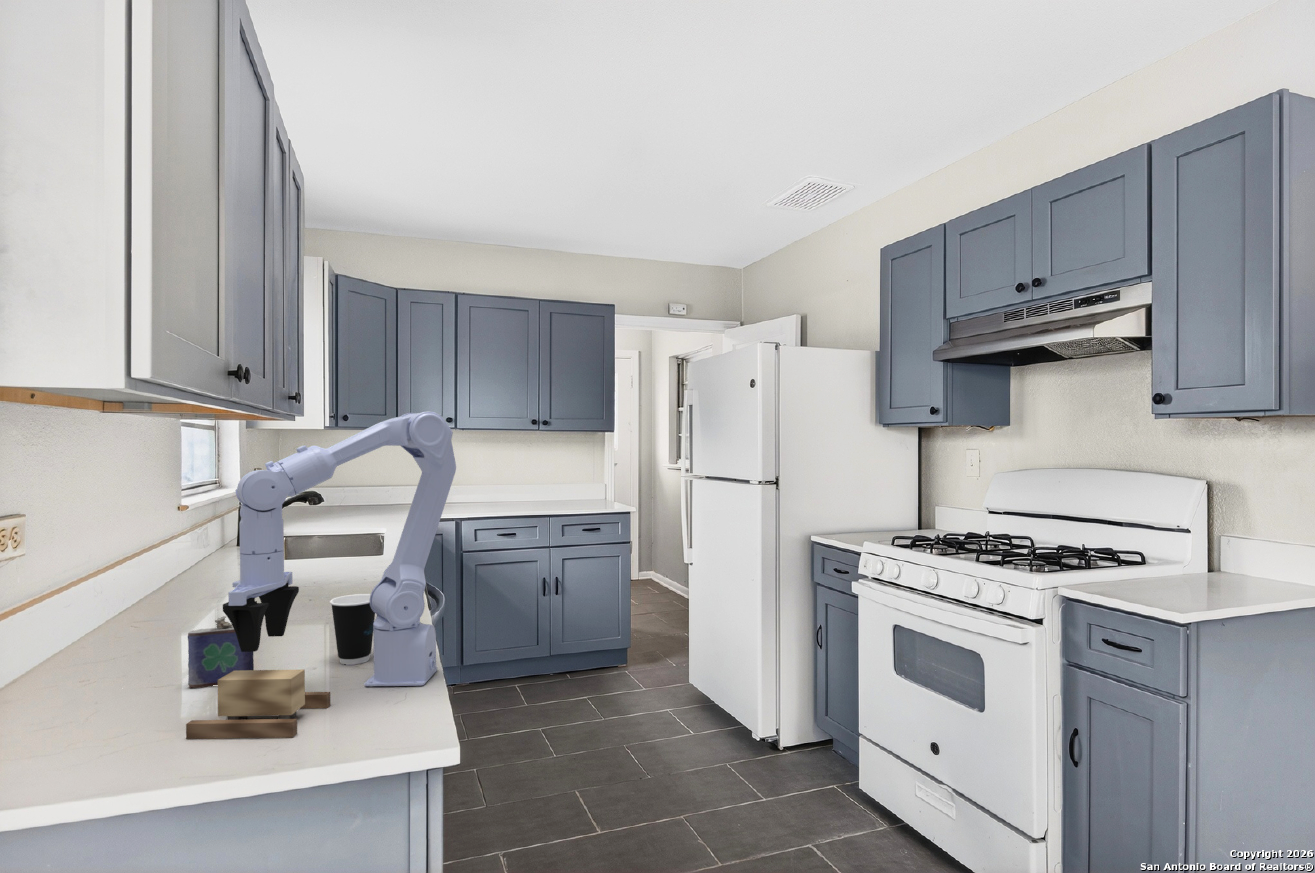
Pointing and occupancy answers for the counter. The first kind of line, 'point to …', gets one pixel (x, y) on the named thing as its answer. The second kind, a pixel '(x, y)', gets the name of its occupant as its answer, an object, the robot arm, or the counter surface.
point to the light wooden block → (261, 692)
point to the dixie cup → (353, 627)
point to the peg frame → (254, 723)
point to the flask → (215, 654)
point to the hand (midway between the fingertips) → (263, 643)
